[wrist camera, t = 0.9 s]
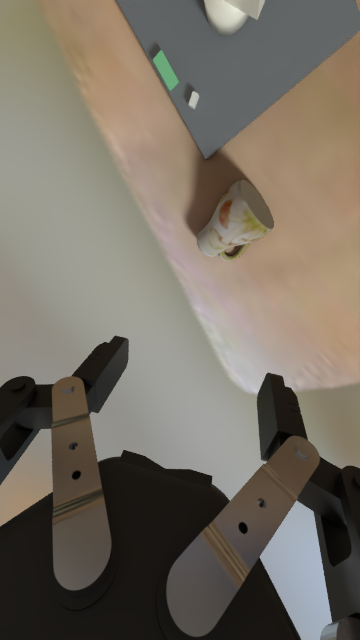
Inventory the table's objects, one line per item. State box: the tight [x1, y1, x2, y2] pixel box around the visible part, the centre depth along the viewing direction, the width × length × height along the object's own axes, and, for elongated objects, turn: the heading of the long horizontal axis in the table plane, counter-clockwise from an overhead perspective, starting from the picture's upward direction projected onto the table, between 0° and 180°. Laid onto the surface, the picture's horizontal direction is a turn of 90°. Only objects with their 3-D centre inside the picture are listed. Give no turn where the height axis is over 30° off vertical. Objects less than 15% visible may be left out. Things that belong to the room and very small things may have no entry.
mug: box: [197, 179, 274, 261], centre depth 31 cm, size 8×10×10 cm
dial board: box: [116, 0, 360, 160], centre depth 23 cm, size 17×18×2 cm
